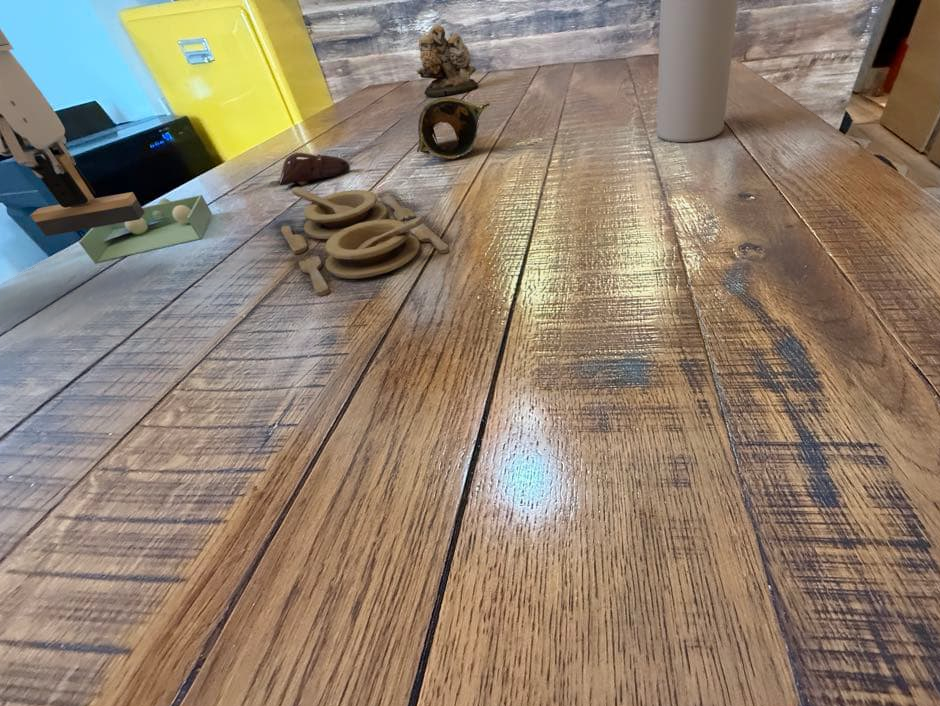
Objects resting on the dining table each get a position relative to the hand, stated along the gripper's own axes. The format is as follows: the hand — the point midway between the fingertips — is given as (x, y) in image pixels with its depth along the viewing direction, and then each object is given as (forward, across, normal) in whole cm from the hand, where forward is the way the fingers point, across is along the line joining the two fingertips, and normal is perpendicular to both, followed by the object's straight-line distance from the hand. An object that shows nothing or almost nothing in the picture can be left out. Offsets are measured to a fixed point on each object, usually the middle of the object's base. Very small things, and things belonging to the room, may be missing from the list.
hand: (79, 200), depth 71 cm
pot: (+12, -27, +57) cm, 64 cm away
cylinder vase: (+12, -6, +99) cm, 100 cm away
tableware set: (+12, +9, +35) cm, 38 cm away
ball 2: (+10, -19, +5) cm, 22 cm away
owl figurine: (+12, -94, +69) cm, 117 cm away
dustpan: (+11, -19, 0) cm, 22 cm away
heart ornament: (+12, -30, +28) cm, 43 cm away
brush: (+3, 0, 0) cm, 3 cm away
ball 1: (+10, -19, -3) cm, 21 cm away
